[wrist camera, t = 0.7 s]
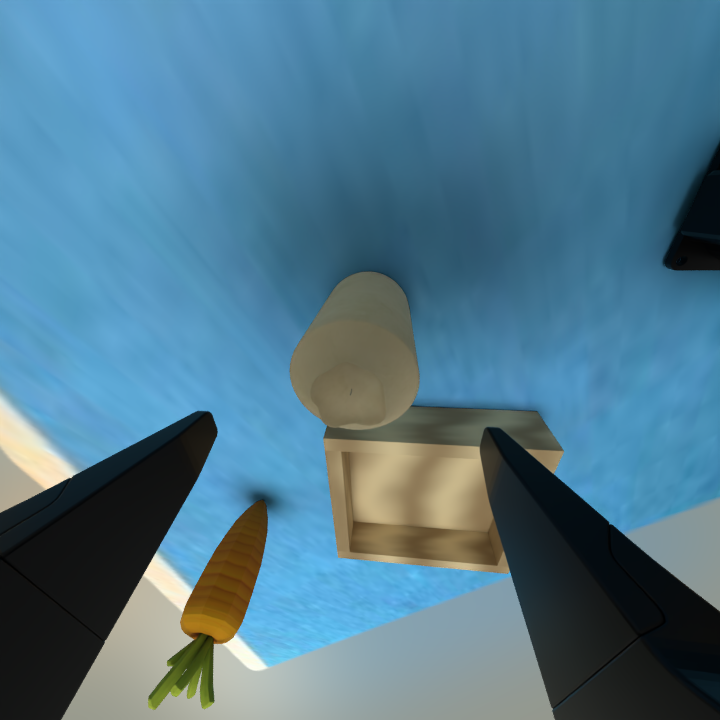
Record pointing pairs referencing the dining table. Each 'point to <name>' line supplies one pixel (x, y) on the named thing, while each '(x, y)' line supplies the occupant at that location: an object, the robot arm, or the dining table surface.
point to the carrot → (217, 606)
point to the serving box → (425, 486)
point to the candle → (358, 355)
